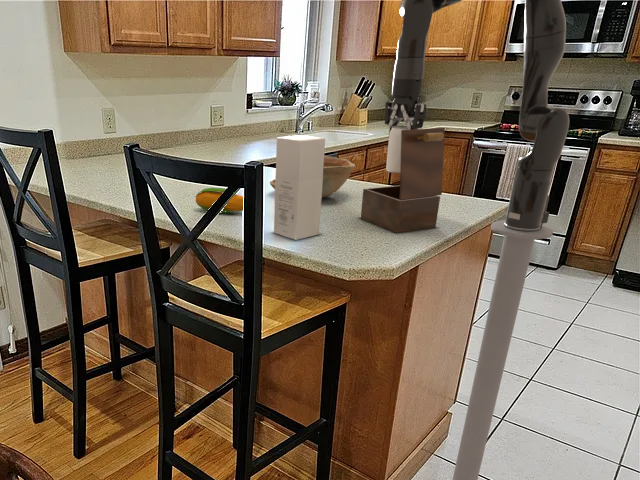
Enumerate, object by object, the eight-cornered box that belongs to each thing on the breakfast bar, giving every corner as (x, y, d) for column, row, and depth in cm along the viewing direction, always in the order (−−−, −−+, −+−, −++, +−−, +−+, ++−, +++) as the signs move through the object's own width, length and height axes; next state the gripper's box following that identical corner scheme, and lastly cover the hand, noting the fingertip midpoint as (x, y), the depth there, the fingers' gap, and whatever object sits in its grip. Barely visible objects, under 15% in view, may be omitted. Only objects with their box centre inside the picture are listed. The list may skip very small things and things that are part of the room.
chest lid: (401, 130, 134) (415, 128, 129) (442, 127, 139) (457, 126, 134) (399, 199, 139) (413, 200, 134) (439, 194, 144) (453, 195, 139)
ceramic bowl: (257, 184, 192) (266, 142, 187) (323, 193, 201) (333, 153, 195) (286, 205, 166) (297, 158, 161) (360, 214, 175) (373, 169, 169)
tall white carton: (319, 234, 141) (325, 138, 131) (295, 240, 136) (300, 140, 126) (297, 227, 147) (301, 134, 137) (273, 232, 142) (276, 137, 132)
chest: (360, 218, 156) (363, 188, 152) (397, 213, 161) (400, 185, 157) (396, 233, 142) (400, 201, 139) (435, 227, 147) (440, 196, 143)
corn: (201, 182, 166) (260, 187, 159) (202, 205, 170) (260, 211, 162) (190, 188, 160) (251, 194, 153) (192, 212, 164) (251, 219, 156)
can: (400, 168, 150) (405, 125, 145) (414, 172, 145) (420, 127, 140) (381, 170, 148) (385, 125, 144) (394, 174, 143) (399, 128, 138)
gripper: (379, 77, 141) (373, 141, 148) (415, 77, 129) (407, 147, 136) (402, 76, 144) (395, 139, 151) (439, 77, 132) (430, 145, 139)
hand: (400, 143), depth 143 cm, fingers closed on can, 6 cm apart
